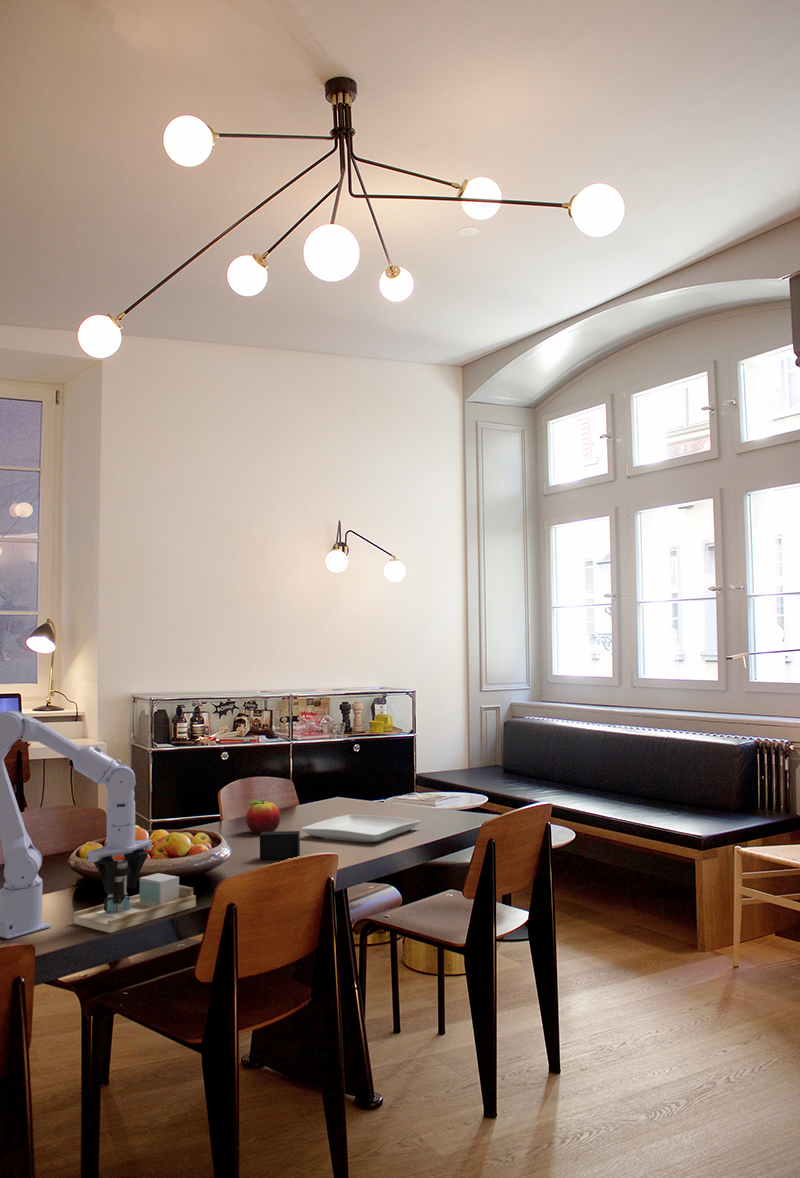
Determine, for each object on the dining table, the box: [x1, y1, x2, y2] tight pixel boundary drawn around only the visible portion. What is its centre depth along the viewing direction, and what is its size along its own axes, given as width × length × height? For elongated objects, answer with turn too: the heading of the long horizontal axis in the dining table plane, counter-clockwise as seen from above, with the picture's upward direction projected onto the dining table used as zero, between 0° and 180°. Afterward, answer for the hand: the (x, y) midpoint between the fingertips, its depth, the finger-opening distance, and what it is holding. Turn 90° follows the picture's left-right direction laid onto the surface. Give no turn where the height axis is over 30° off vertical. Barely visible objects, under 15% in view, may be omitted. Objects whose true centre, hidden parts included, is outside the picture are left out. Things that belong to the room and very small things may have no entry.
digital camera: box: [259, 830, 301, 862], centre depth 238 cm, size 10×5×7 cm, turn 91°
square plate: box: [300, 813, 421, 843], centre depth 269 cm, size 27×27×4 cm
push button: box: [103, 859, 136, 913], centre depth 185 cm, size 7×5×10 cm
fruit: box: [245, 799, 281, 835], centre depth 276 cm, size 11×11×10 cm
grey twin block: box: [139, 872, 180, 905], centre depth 192 cm, size 5×7×5 cm
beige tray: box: [73, 884, 197, 934], centre depth 187 cm, size 22×12×4 cm, turn 144°
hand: (120, 890), depth 184 cm, fingers closed on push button, 5 cm apart
